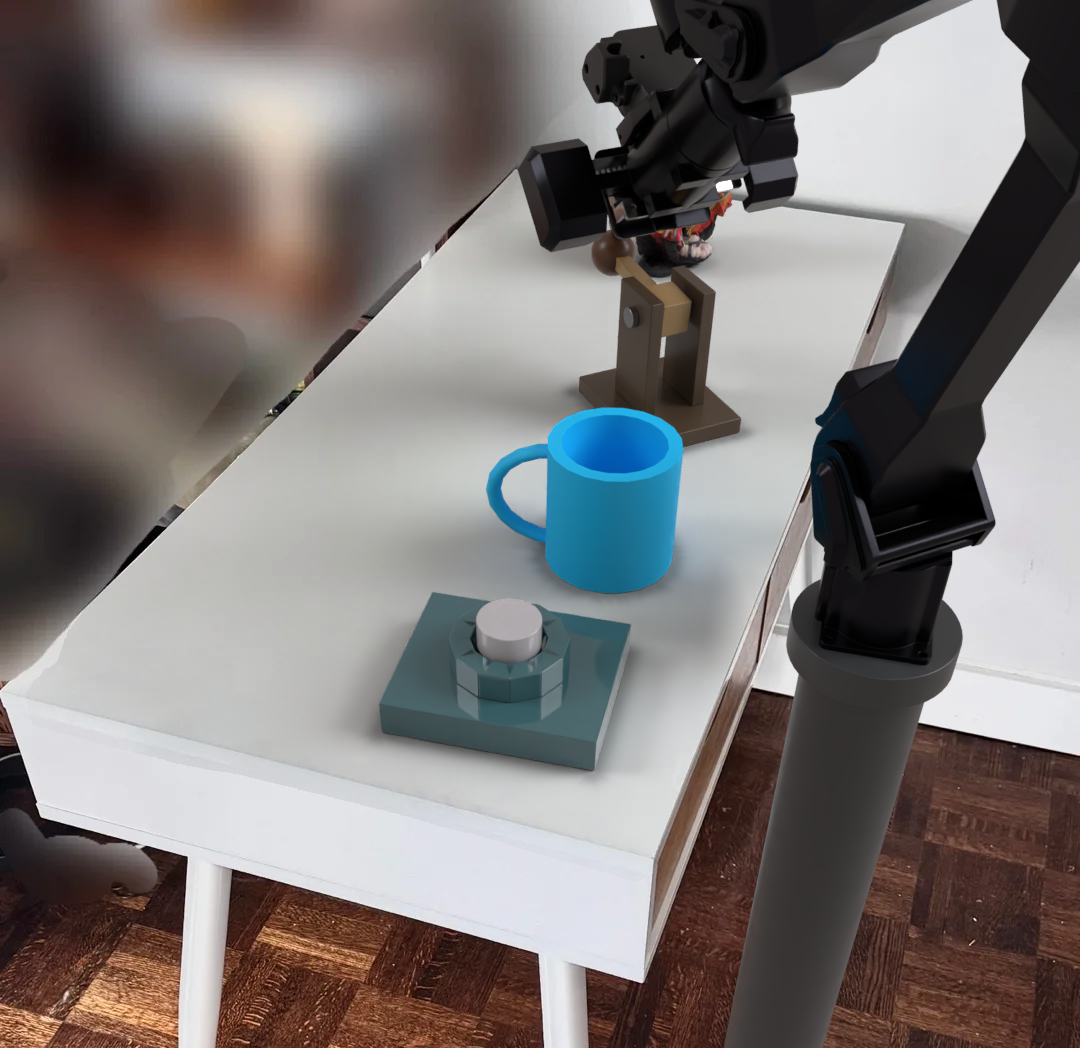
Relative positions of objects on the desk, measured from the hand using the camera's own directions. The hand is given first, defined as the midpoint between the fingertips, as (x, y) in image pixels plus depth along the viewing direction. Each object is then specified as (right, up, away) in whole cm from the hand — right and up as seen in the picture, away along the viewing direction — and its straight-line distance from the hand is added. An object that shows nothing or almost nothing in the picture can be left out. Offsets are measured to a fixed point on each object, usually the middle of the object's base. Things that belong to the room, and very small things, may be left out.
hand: (615, 228), depth 96 cm
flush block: (-7, -34, -20) cm, 40 cm away
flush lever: (+2, -5, 0) cm, 5 cm away
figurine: (+7, +5, +20) cm, 22 cm away
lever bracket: (+3, -13, +2) cm, 13 cm away
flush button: (-7, -31, -22) cm, 39 cm away
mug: (-3, -24, -10) cm, 27 cm away
